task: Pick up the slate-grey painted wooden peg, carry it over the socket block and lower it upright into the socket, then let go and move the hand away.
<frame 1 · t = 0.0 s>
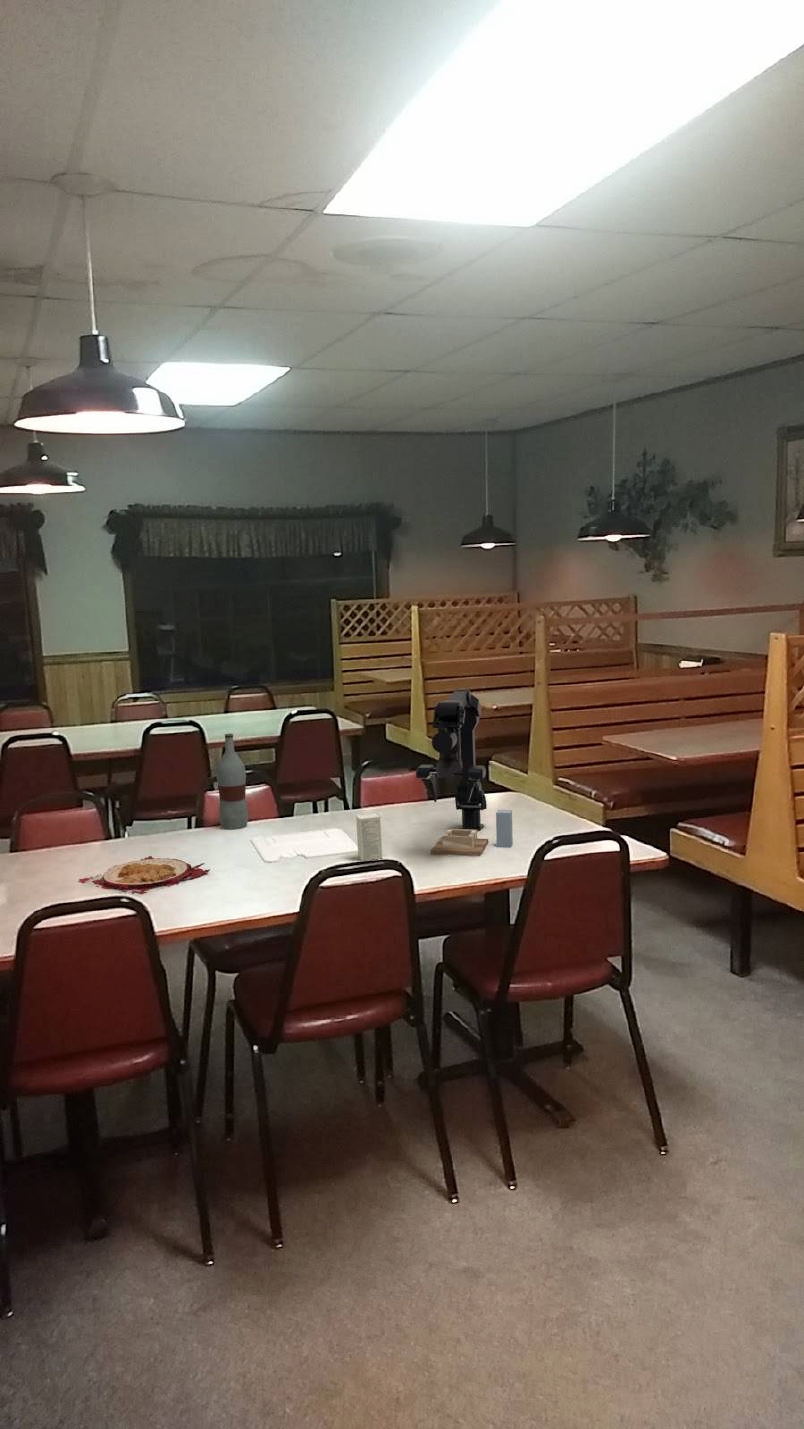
hand: (451, 802, 267), 15 cm above the table, fingers open, 9 cm apart
bottle: (234, 827, 309), on the table
peg: (504, 845, 276), on the table
tray: (304, 848, 283), on the table
socket block: (460, 848, 274), on the table
plate with food: (144, 880, 257), on the table
skincare box: (370, 858, 268), on the table
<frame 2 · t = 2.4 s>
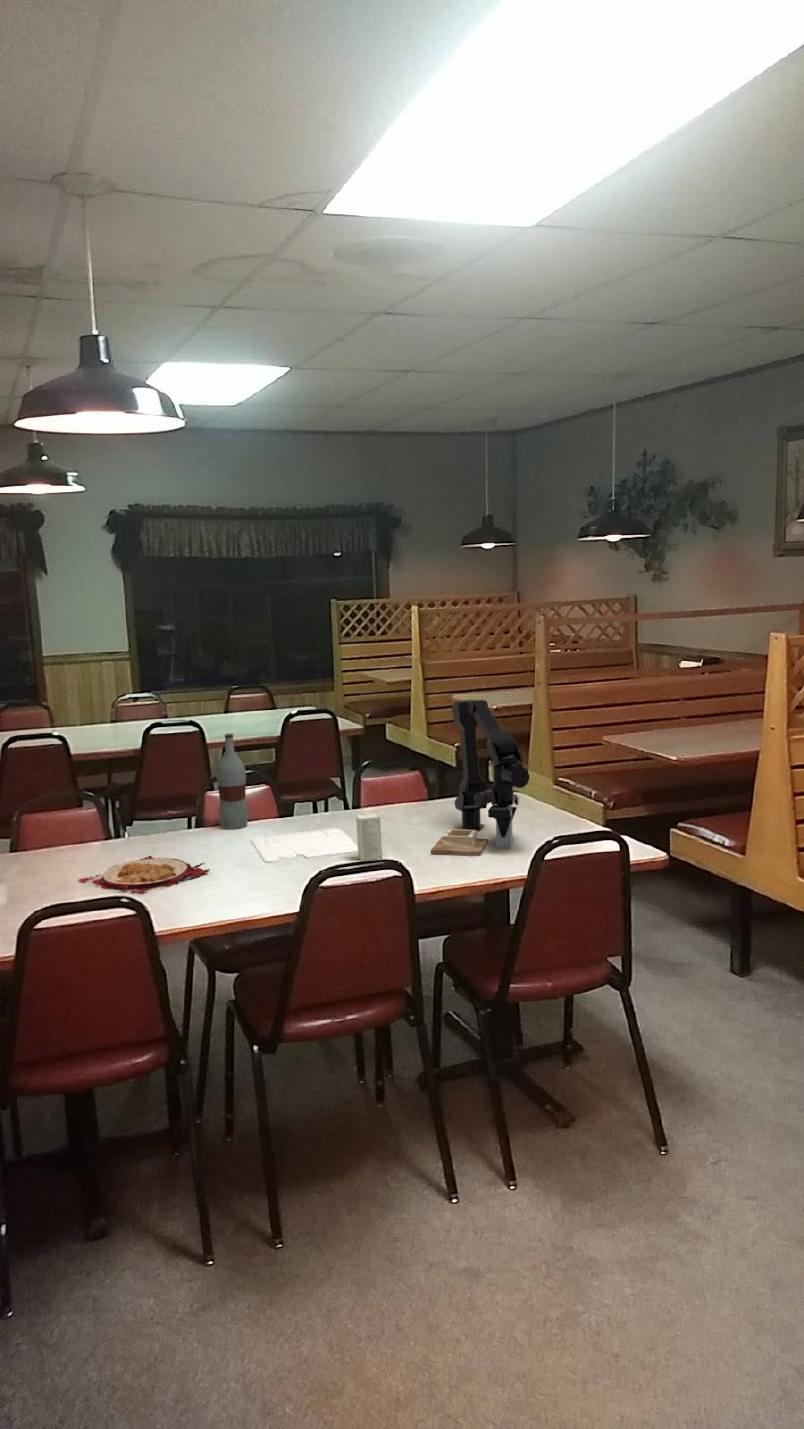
hand: (504, 835, 276), 3 cm above the table, fingers closed on peg, 4 cm apart
peg: (504, 845, 276), on the table, touching gripper
everything else where it was.
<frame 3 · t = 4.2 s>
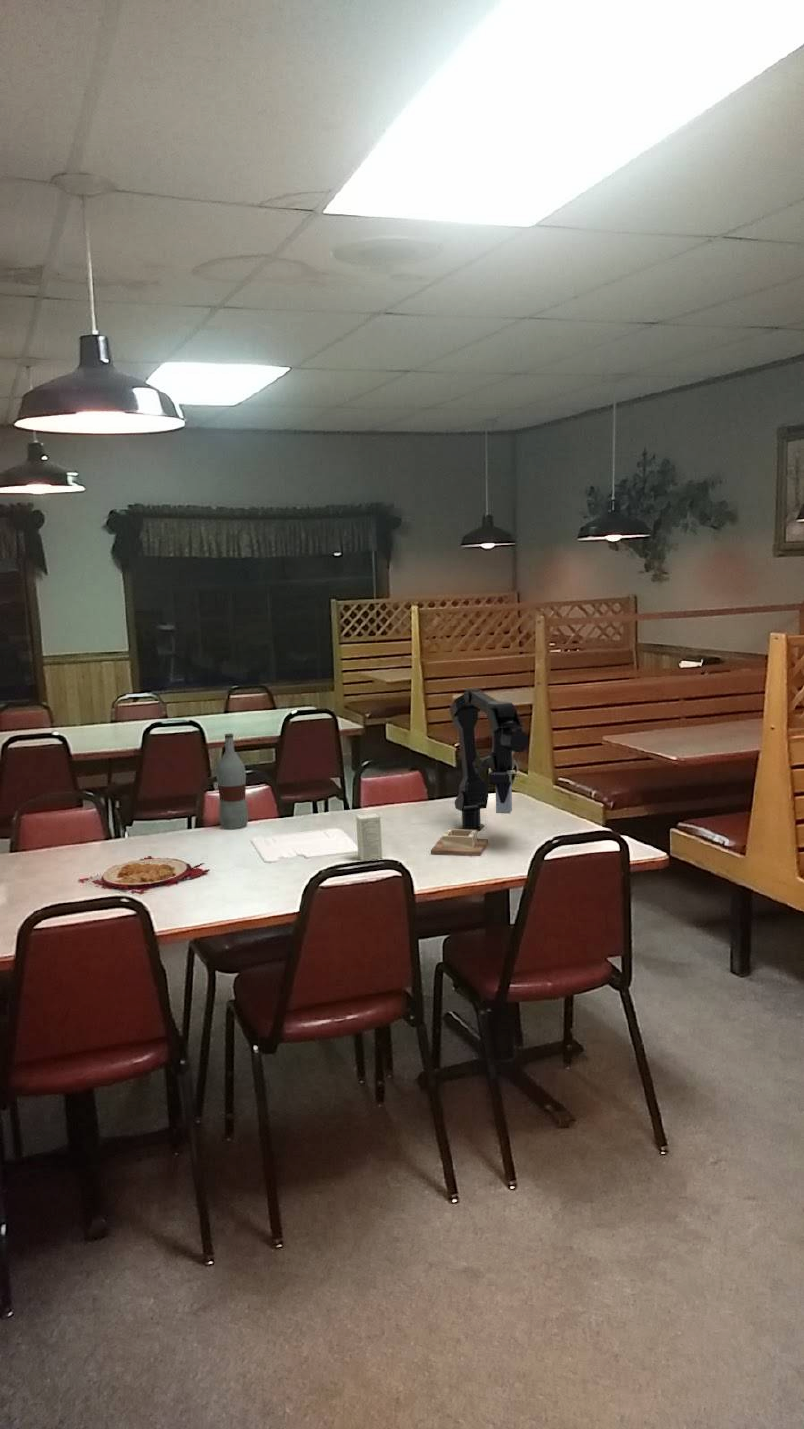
hand: (503, 801, 274), 13 cm above the table, fingers closed on peg, 4 cm apart
peg: (504, 811, 275), point 10 cm above the table, touching gripper
everything else where it was.
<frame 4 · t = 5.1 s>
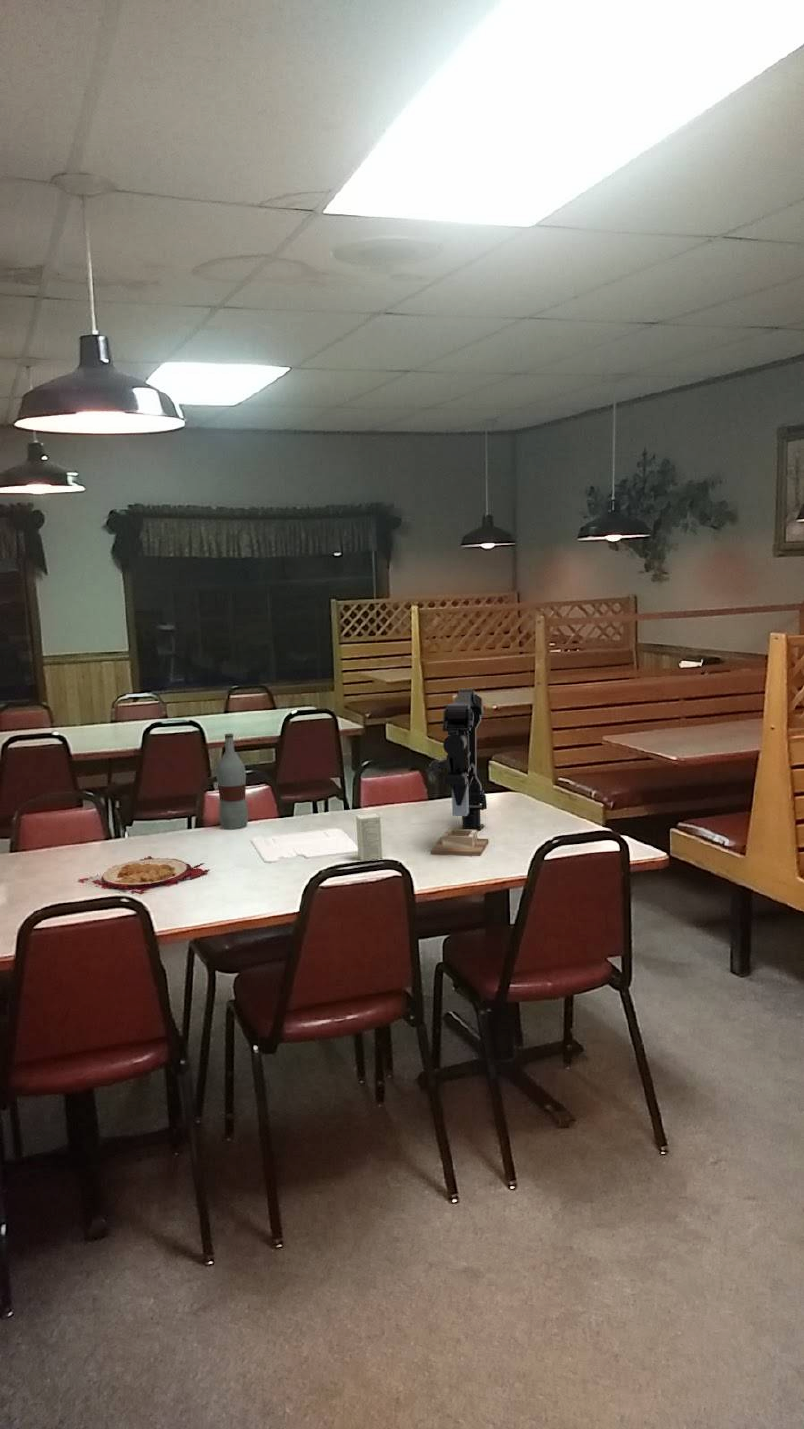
hand: (460, 803, 272), 13 cm above the table, fingers closed on peg, 4 cm apart
peg: (460, 814, 273), point 10 cm above the table, touching gripper
everything else where it was.
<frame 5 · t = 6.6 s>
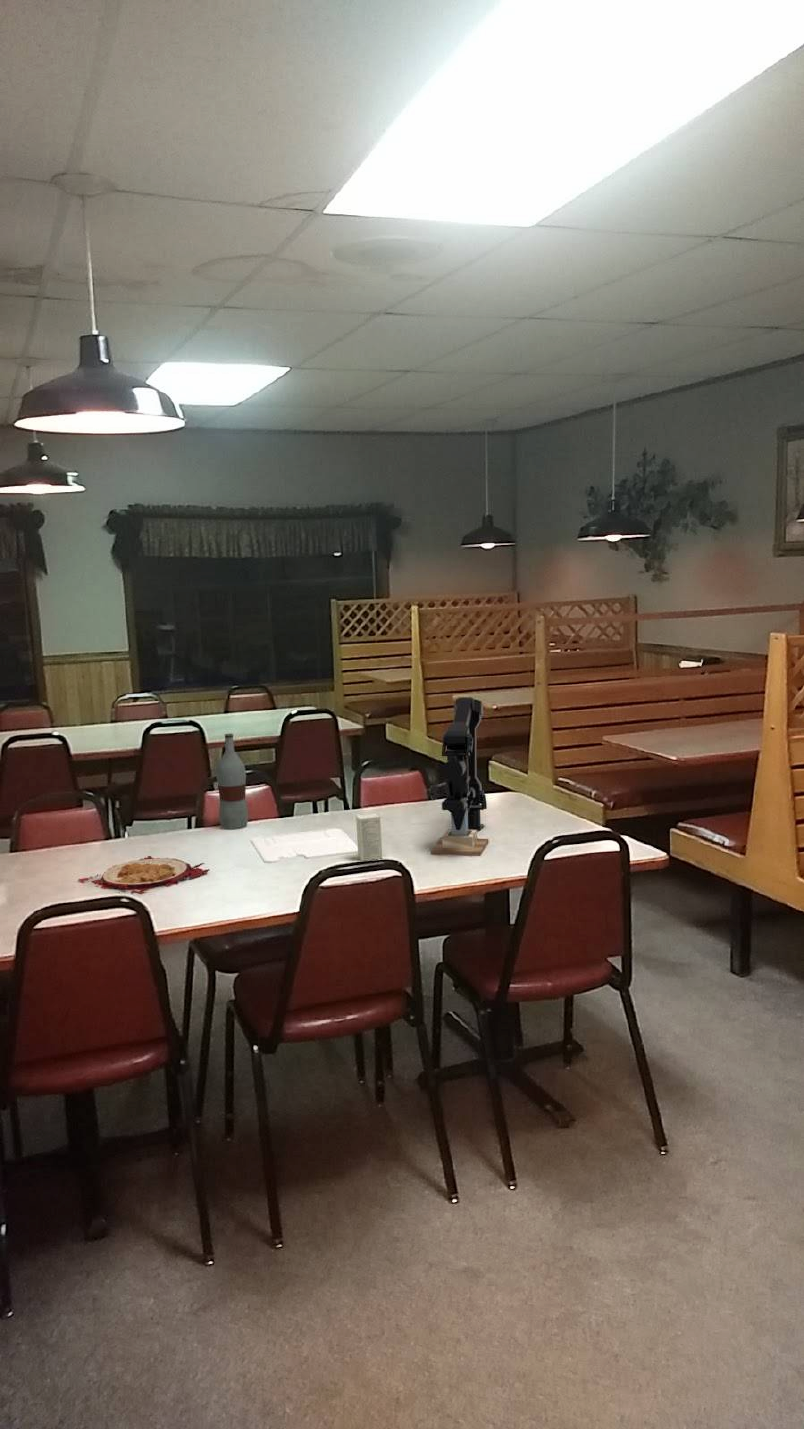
hand: (459, 827, 273), 6 cm above the table, fingers closed on peg, 4 cm apart
peg: (460, 838, 274), point 3 cm above the table, touching gripper
everything else where it was.
when the fingers open (6 cm above the table, at t = 6.7 s): peg drops 2 cm, resting on socket block.
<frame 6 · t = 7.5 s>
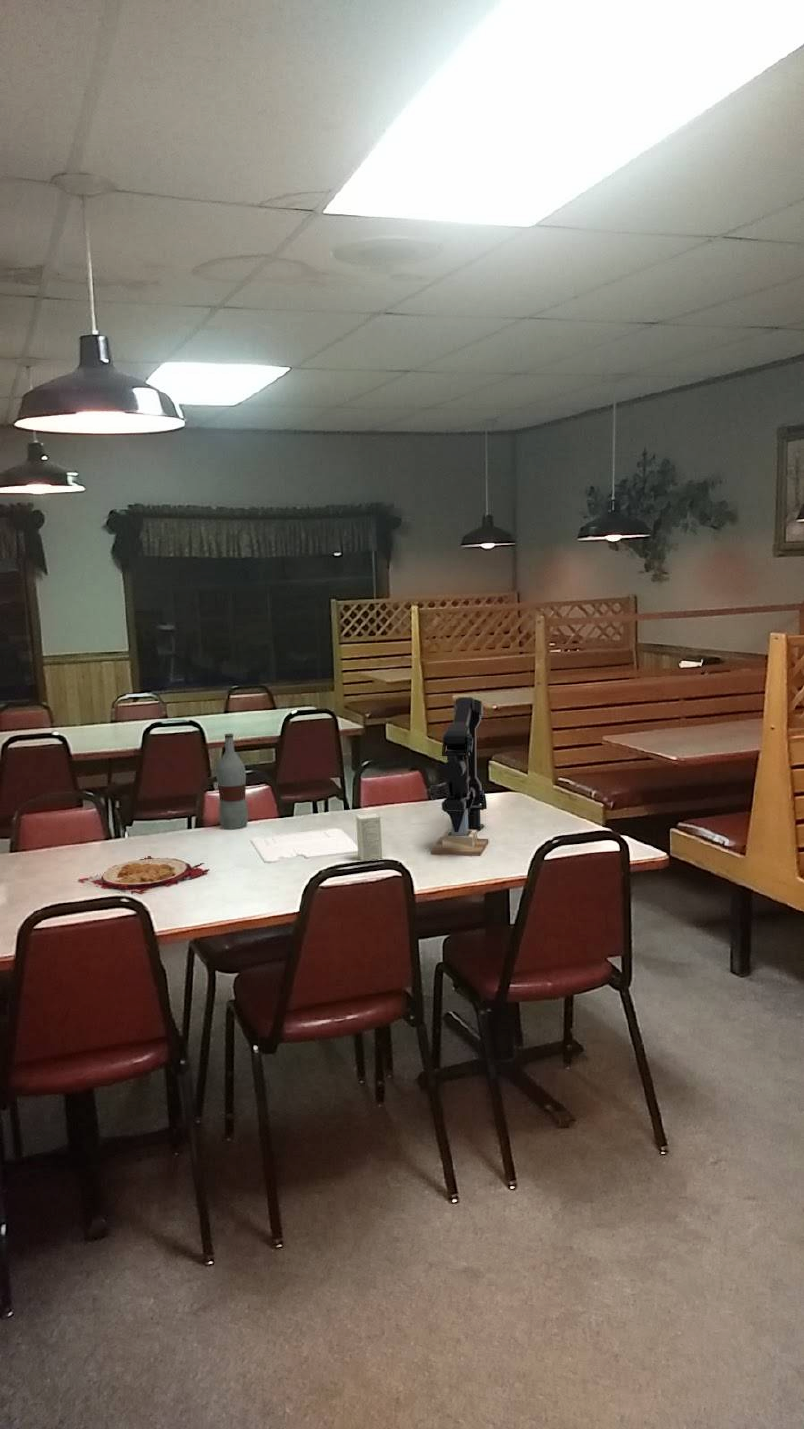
hand: (459, 827, 273), 6 cm above the table, fingers open, 9 cm apart
peg: (460, 844, 274), point 1 cm above the table, touching socket block
everything else where it was.
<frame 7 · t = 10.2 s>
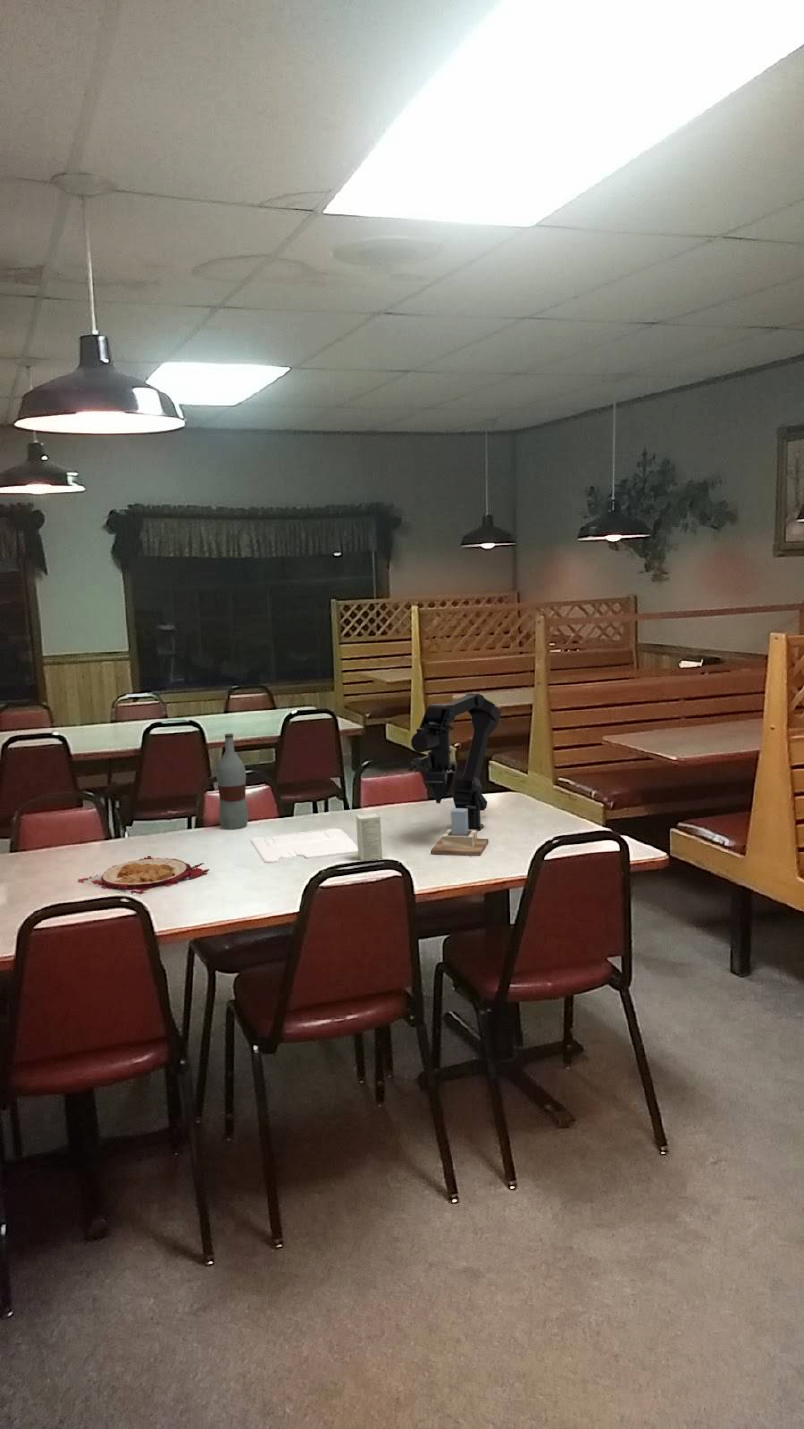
hand: (441, 799, 283), 12 cm above the table, fingers open, 9 cm apart
nothing on the table moved.
at the end: peg 0.1 cm off-centre on the socket block, point 1.2 cm above the socket block's base; peg tilted 0°; the gripper is holding nothing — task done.
